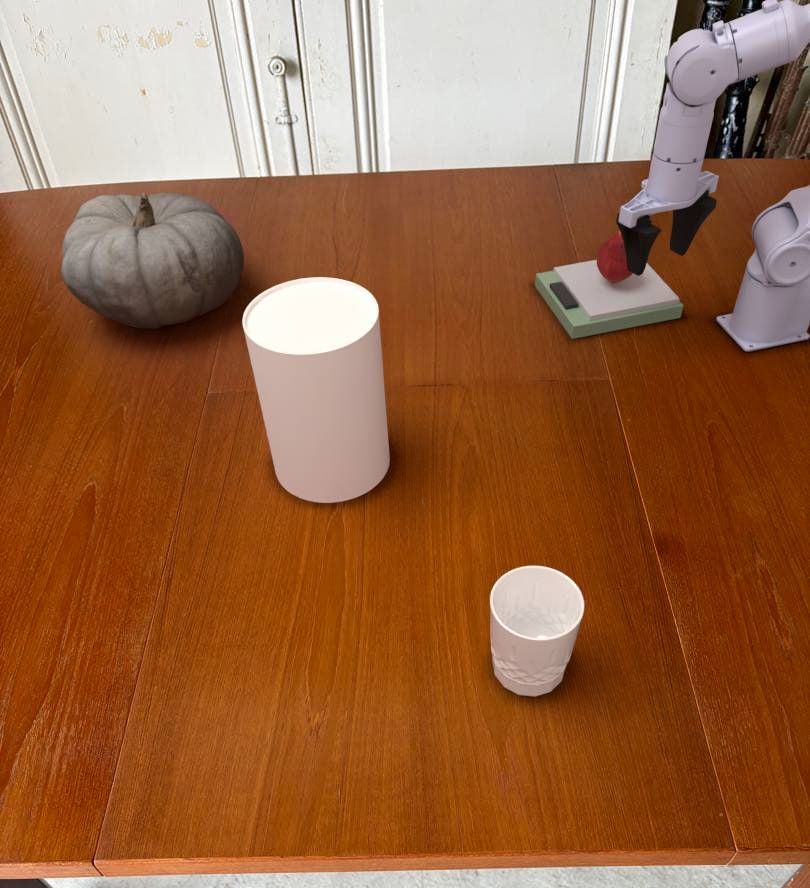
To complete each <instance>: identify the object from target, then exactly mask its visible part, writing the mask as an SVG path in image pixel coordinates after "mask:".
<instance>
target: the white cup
mask: <svg viewBox="0 0 810 888" xmlns="http://www.w3.org/2000/svg"><path fill="white" fill-rule="evenodd" d="M584 612H585V599H584V596H583V593H582V591H581V589H580V587H579V586H578V584H576V583H575V581H574V580H573V579H571V578H570V577H569V576H568V575H567V574H565V573H564V572H561V571H559V570H557V569H554V568H552V567H548V566H543V565H526V566H524V565H523V566H520V567H516V568H513V569H511V570H509V571H507V572H505V573H504V574H503V575H501V576H500V577H499V578H498V579H497V581H496V582H495V583H494V585H493V587H492V588H491V592H490V596H489V633H490V651H491V664H492V668H493V674H494V676H495V678H496V679H497V680H498V682H499V683H500V684H501V685H502V687H503V688H505V689H507V690H508V691H510V692H512V693H514V694H516V695H518V696H526V697H538V696H542V695H545V694H548V693H551V692H552V691H553V690H554V689H555V688H557V686H558V685H559V684H561V683H562V681H563V677H564V674H565V671H566V667H567V665H568V664H569V662H570V659H571V656H572V653H573V650H574V647H575V645H576V642H577V637H578V634H579V630H580V626H581V623H582V619H583V616H584Z"/></svg>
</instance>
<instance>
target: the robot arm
mask: <svg viewBox="0 0 810 888" xmlns="http://www.w3.org/2000/svg"><path fill="white" fill-rule="evenodd" d="M809 43H810V3H808V4H805V5H800V4H798V3H796V2H795V1H794V0H781V1H778V0H764V1H762V3H761V8H760V9H758V10H755V11H753V12H751V13H748V14H746V15H743V16H741V17H737V18H736V19H733V20H730V21H728V22H726V23H725V22H724V21H723V20H722V19H721V20H718V21H717V22H713V24H712V31H711V30H709V29H703V28H694V29H691V30H689V31H687V32H684V33H683V34H682V35H680V36H679V37H678V38H677V41H676V42H675V41H674V42H673V43H672V45H671V46H670V48H669V50H668V54H667V55H665V56H664V60H663V61H664V63H663V64H664V70H665V74H666V76H667V79H669V82H667V83H666V88H665V92H664V94H663V101H662V102H663V104H662V107H661V109H660V111H659V118H658V123H657V128H656V134H655V140H654V146H653V151H652V157H651V161H650V162H651V163H650V167H649V172H648V178H646V179H644V180H642V181H641V183H640V184H641V185H640V188H641V189H642V190H640V191H639V192H638V193H637V194H636V195H635V196H634V197H633V198H632V199H630V200H629V201H628V202H627V203H625V204H623V205H621V206H620V208H619V213H617V215H616V221H615V223H616V226H617V227H618V229H619V230H620V232H621V235H622V238H623V241H624V246H625V251H626V261H627V270H628V271H630V272H632V273H634V274H635V275H637V276H640V275H642V274H643V272H644V270H645V267H646V264H648V260H649V256H650V254H651V251H652V248H653V245H654V243H655V242H656V240H657V238H658V236H659V235H660V233H662V231H663V230H662V229H661V228H660V227H658V226H656V225H655V224H653V220H651V216H653V215H656V214H659V213H664V212H670V211H671V212H672V225H671V231H670V238H669V251H671V252H672V253H675V254H677V255H679V256H681V257H683V256H685V255H686V253H687V252H688V250H689V249H690V246H691V245H692V242H693V240H694V238H695V236H696V235H697V233H698V231H699V229H700V228H701V226H702V225H703V224H704V222H705V221H706V219H707V218H708V217H709V215H710V214H711V213H712V212H713V211H714V210H715V209H716V207H717V203H718V201H717V199H716V198H715V197H712V196H710V195H711V194H713V193H715V192H716V190H717V187H718V182H719V178H720V175H718V174H715V173H713V172H710V171H709V170H705V171H702V168H703V164H704V160H705V155H706V151H707V145H708V142H709V138H710V133H711V130H712V129H711V128H712V123H713V121H714V115H715V111H714V110H715V106H716V102H717V99H718V98H719V97H720V96H721V95H722V94H723V93H724V91H725V90H726V88H727V87H728V86H730V85H733V84H736V83H738V82H741V81H744V80H747V79H749V78H752V77H754V76H757V75H760V74H762V73H765V72H769V71H770V70H773V69H776V68H779V67H782V66H784V65H786V64H787V65H788V64H790V63H792V62H795V61H796V60H797V59H798V58H799V57H800V55H801V54H802V52H803V51H804V50H805V48H806V47H807V45H809ZM709 194H710V195H709ZM619 230H618V231H619ZM751 239H752V242H753V243H754V245H755V248H754V252H753V253H752V255H751V256H750V257H749V259H748V261H747V263H746V268H745V271H744V274H743V277H742V280H741V284H740V287H739V291H738V294H737V297H736V301H735V304H734V307H733V310H732V313H728V314H724V315H718V316H716V318H715V321H716V322H717V323H718V324H719V326H721V328H722V329H723V330H724V331H725V332H726V333H727V334H728V335H729V336H730V337H731V338H732V339H733V340H734V341H735V343H736V344H737V345H738V346H739V347H740V348H741V349H742V350H743V351H744V352H753V351H754V352H755V351H759V350H763V349H768V348H773V347H778V346H782V345H786V344H787V345H789V344H793V343H797V342H801V341H807V340H809V339H810V334H809V333H808V329H809V327H810V184H809V185H807V186H804V187H800V188H799V187H798V188H795V189H792V190H791V191H789V192H788V193H787V194H786V195H785V196H784V198H783V199H781V200H780V201H778V202H776V203H775V204H773V205H771V206H769V207H767V208H766V209H764V210H763V211H762V212H760V214H759V215H757V217H756V219H755V220H754V222H753V223H752V227H751Z"/></svg>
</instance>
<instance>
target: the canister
mask: <svg viewBox="0 0 810 888" xmlns="http://www.w3.org/2000/svg"><path fill="white" fill-rule="evenodd" d="M241 322H242V328H243V332H244V337H245V342H246V346H247V350H248V356H249V360H250V365H251V368H252V369H251V370H252V374H253V378H254V382H255V386H256V391H257V395H258V400H259V405H260V409H261V414H262V418H263V423H264V427H265V432H266V437H267V441H268V445H269V449H270V454H271V458H272V464H273V466H274V472H275V476H276V478H277V481H278V482H279V484H280V485H281V486H282V488H283V489H284V490H286V491H287V492H288V493H290V494H291V495H293V496H294V497H296V498H299V499H301V500H304V501H308V502H313V503H319V504H320V503H321V504H332V503H340V502H346V501H350V500H353V499H355V498H359V497H361V496H363V495H364V494H367V493H368V492H370V491H371V490H373V489H374V488H375V487H376V486H377V485H379V483H381V481H382V480H384V477H385V476H386V474H387V472H388V471H389V467H390V462H391V461H390V460H391V457H390V444H389V431H388V418H387V417H388V416H387V405H386V404H387V402H386V390H385V379H384V376H385V375H384V366H383V365H384V364H383V351H382V349H383V348H382V337H381V326H380V325H381V324H380V310H379V304H378V302H377V299H376V298H375V296H374V295H373V294H372V293H371V292H370V291H369V290H368V289H366V288H364V287H363V286H361V284H357V283H356V282H355V283H354V282H352V281H349V280H345V279H341V278H335V277H328V276H327V277H326V276H324V277H323V276H319V277H317V276H315V277H314V276H313V277H306V278H305V277H304V278H297V279H293V280H288V281H286V282H285V281H284V282H282V283H279V284H277V285H274V286H272V287H270V288H268V289H266V290H264V291H263V292H260V293H259V294H258V295H257V296H256V297H254V298H253V299H252V300H251V301H250V302H249V304H248V305H247V306H246V308H245V310H244V312H243V316H242V321H241Z"/></svg>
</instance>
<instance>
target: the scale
mask: <svg viewBox="0 0 810 888" xmlns="http://www.w3.org/2000/svg"><path fill="white" fill-rule="evenodd" d="M534 287H535V289H536V290H537V292H538V293H539V294H540V296H541V297H542V299H543V300H544V301H545V303H546V304H547V306H548V307H549V308H550V310H551V312H552V313H553V314H554V316H555V317H556V319H557V320H558V321H559V323H560V324H561V326H562V327H563V328H564V330H565V331H566V333H567V334H568V336H569V337H570V338H571V340H574V339H579V338H584V337H590V336H594V335H600V334H604V333H610V332H615V331H620V330H625V329H630V328H636V327H641V326H645V325H646V326H647V325H650V324H651V325H652V324H656V323H661V322H666V321H671V320H676V319H680V318H681V317H682V313H683V309H684V304H683V303H682V302H681V301H680V298H679V296H678V295H677V294H676V293H675V292H674V291H673V290H672V289H671V287H670V286H669V285H668V284H667V283H666V282H665V281H664V280H663V279H662V278H661V277H660V275H659V274H658V273H657V272H656V271H655V270H654V269H653V267H651V265H649V263H647V264H646V267H645V270H644V272H643V274H642V275H640V276H637V275H635V274H634V273H633V274H632V275H631V276H630V277H628V278H626V279H625V280H623V281H620V282H617V283H612V282H610V281H609V280H607V279H606V278H604V277H603V276H602V275H601V273H600V271H599V269H598V267H597V259H593V260H588V261H587V260H586V261H582V262H576V263H570V264H565V265H561V266H555V267H553V270H548V271H543V272H538V273H535V279H534Z"/></svg>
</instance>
